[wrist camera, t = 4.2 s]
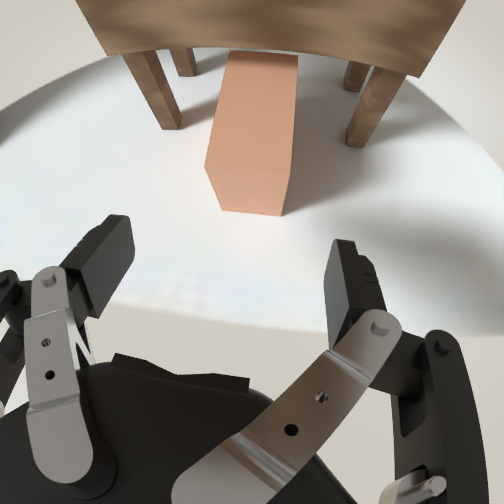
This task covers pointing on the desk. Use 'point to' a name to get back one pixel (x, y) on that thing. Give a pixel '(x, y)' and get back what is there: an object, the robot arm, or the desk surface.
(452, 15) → the walnut cabinet
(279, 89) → the terracotta block
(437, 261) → the desk surface
